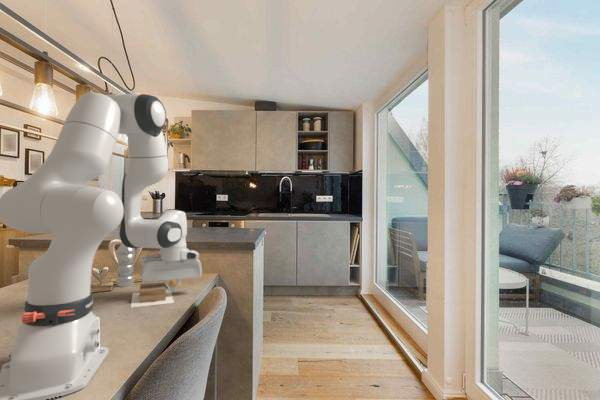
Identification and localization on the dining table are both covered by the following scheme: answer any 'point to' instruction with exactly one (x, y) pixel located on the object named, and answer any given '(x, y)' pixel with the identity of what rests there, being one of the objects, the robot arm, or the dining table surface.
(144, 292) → the walnut block
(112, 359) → the dining table surface
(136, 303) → the letter card
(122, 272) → the plastic bottle
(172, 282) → the orange cylinder
